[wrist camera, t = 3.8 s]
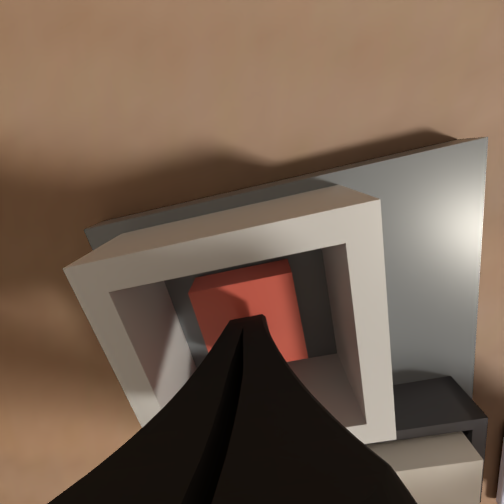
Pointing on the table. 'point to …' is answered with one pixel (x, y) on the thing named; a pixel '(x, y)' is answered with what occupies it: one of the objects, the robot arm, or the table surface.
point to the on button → (436, 467)
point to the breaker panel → (315, 287)
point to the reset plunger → (251, 304)
